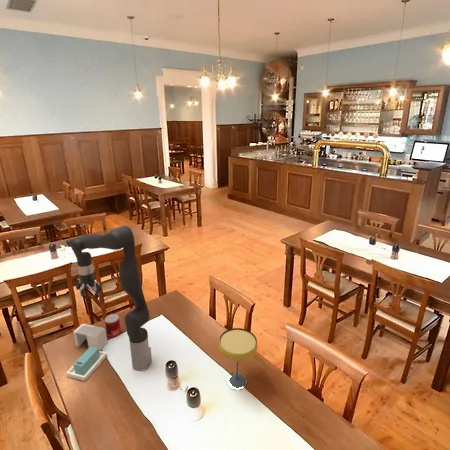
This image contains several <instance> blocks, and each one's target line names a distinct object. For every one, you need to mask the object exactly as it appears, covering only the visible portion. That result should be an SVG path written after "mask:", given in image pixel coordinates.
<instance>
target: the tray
mask: <svg viewBox="0 0 450 450" xmlns="http://www.w3.org/2000/svg"><path fill="white" fill-rule="evenodd" d="M99 354H100V358H99V359H98V360H97V361H96V362H95V364H94V365H93V366H92V367H91V368H90V369H89V370H88V371H87V373H86V374H85V375H84V376H83V375H79V374H75V370H74V365H72V366H71V367H70V368H69V369H68V371H67V372H66V377H67V378H69V379H73V380H78V381H80V382H81V381H82V382H87V380H88V379H89V378H90V377H91V375H92V374H93V373H94V372H95V371H96V370H97V368H98V367H100V365H101V364H102V362H104V361H105V360H106V359H107V357H108V354H107V351H102V350H100V351H99Z"/></svg>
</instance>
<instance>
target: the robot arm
mask: <svg viewBox="0 0 450 450" xmlns="http://www.w3.org/2000/svg"><path fill="white" fill-rule="evenodd" d="M70 247H71V249H72V252H73V254H74V256H75V257H76V262H77V272H78V278H76V280H75V289H76V290H79V293H80V296H81V297H85V296H86V290H85V289H87V290H90V291H91V292H93V295H94V299H95V300H98V298H100V293H101V292H102V286H101V285H102V284H101V281H95V277H96V275H95V270H94V265H93V260H92V254H91V253H90V252H89V251H84V250H86V249H89V250H93V249H106V250H107V249H109V250H111V251H112V250H114V251H119V250H121V249H122V250H123V255H122V256H123V258H122V262H121V265H120V269H119V272H118V276H119V282H120V286H121V289H122V290H123V292H125V293H126V294H127V295H128V296H130V298H132V299H133V303H134V308H133V309H132V310H131V311H129V312H128V313H126V314H125V315H124V324H125V330H126V334H127V336H128V341H129V349H130V358H131V366H132V368H133V369H134V370H136V371H138V372H139V371H147V369H148V368H149V367H150V365H151V364H152V362H153V359H152V358H153V357H152V349H151V348H152V347H150V343H149V334H148V330H147V329H146V328H145V327H143V326H144V325H145V324H147V323H148V322H149V320H150V311H149V308H148V305H147V301H146V299H145V296H144V290H143V287H142V280H141V275H140V269H139V266H138V262H137V260H138V259H137V255H136V252H137V251H136V243H135V236H134V233H133V230H132V229H131V228H130V226H127V225H123V226H121V227H116V228H114V229H111V230H110V231H109V232H107V233H103V234H99V233H98V234H96V233H95V234H89V233H88V234H83V235H81V236H78V237H77V236H76V237H75V238H73V239H71V241H70Z"/></svg>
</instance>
